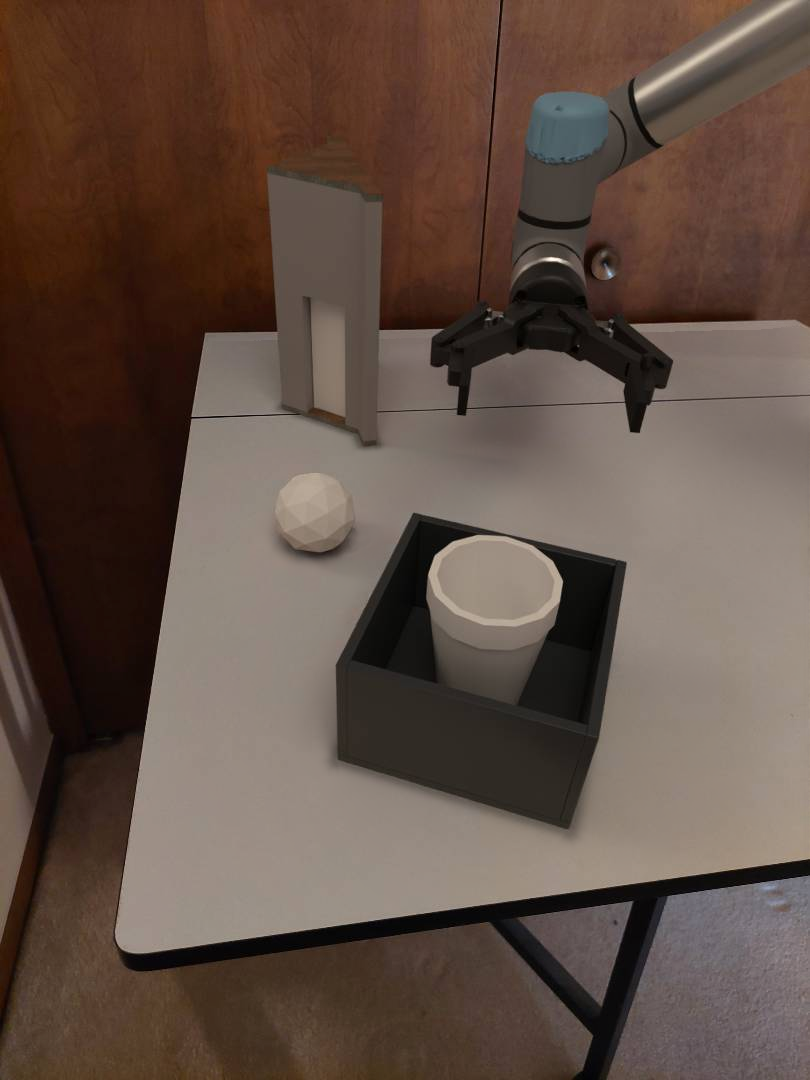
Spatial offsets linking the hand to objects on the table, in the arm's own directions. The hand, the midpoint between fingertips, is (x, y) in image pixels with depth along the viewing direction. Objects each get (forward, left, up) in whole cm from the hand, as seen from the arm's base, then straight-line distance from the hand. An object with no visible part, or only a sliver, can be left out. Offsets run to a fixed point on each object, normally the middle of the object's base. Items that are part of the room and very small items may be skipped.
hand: (549, 409), depth 62 cm
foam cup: (0, +14, -19) cm, 24 cm away
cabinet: (+30, -25, -20) cm, 44 cm away
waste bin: (0, +14, -20) cm, 24 cm away
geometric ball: (+20, 0, -20) cm, 29 cm away
